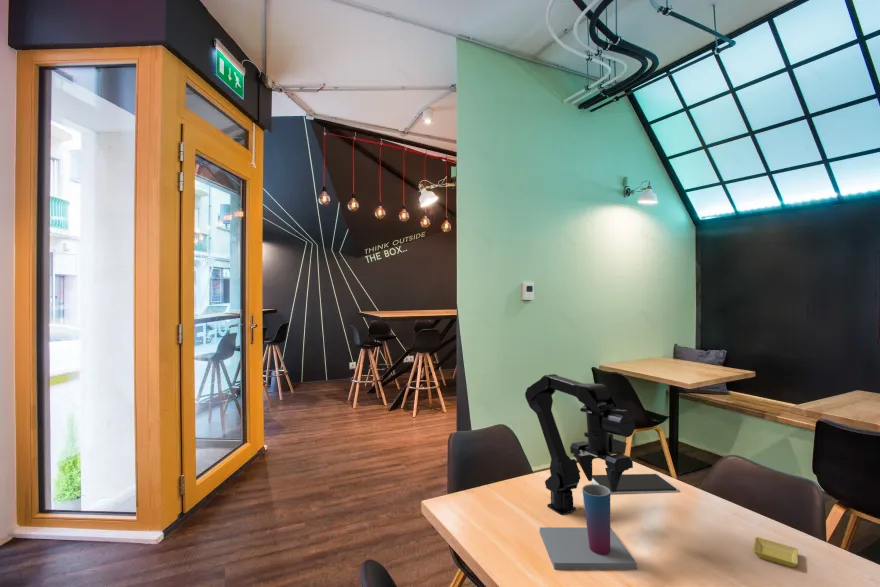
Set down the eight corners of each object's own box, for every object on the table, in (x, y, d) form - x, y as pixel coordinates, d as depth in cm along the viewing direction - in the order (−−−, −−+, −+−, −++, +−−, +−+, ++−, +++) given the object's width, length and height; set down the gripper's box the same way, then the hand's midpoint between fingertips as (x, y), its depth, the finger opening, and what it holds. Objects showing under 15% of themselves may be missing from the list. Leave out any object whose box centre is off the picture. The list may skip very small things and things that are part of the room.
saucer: (755, 543, 112) (755, 535, 112) (797, 556, 106) (797, 548, 106) (753, 559, 105) (752, 550, 105) (798, 573, 100) (797, 564, 100)
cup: (608, 560, 102) (604, 498, 102) (581, 550, 106) (578, 491, 107) (617, 547, 107) (614, 488, 107) (591, 538, 112) (588, 481, 112)
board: (554, 569, 101) (554, 562, 101) (539, 532, 117) (539, 527, 117) (636, 569, 101) (636, 563, 101) (610, 532, 117) (610, 527, 117)
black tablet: (679, 494, 142) (679, 489, 142) (602, 495, 140) (602, 490, 140) (657, 477, 155) (657, 473, 155) (586, 479, 154) (586, 474, 154)
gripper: (645, 433, 113) (650, 492, 112) (596, 420, 130) (600, 471, 129) (614, 438, 109) (618, 500, 107) (567, 424, 126) (570, 477, 125)
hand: (601, 486), depth 117 cm, fingers open, 9 cm apart
